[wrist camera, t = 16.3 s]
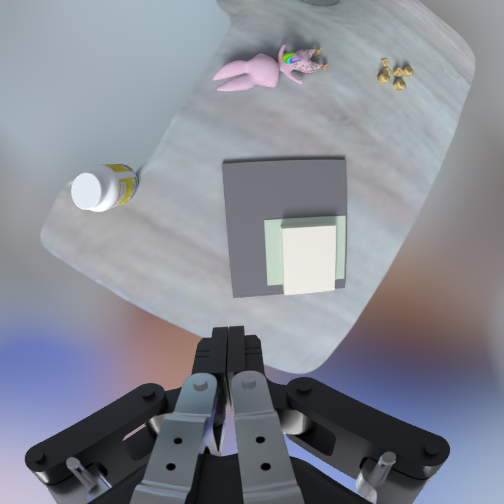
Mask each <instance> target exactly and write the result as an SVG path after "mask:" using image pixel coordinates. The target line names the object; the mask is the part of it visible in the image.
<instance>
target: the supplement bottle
mask: <svg viewBox="0 0 504 504" xmlns="http://www.w3.org/2000/svg"><path fill="white" fill-rule="evenodd" d="M137 187H138V180H137V176H136V174H135V172H134V171H133V170H132V169H131V168H130V167H128V166H126V165H121V164H115V165H96V166H93V167H91V168H89V169H88V170H87V171H86V172H84V173H81V174H80V175H78V176H77V177H76V179H75V180H74V182H73V184H72V189H71V193H72V198H73V201H74V202H75V204H76V205H77V206H78V207H79V208H81V209H85V210H88V209H90V210H92V211H96V212H101V211H105V210H108V209H110V208H113V207H116V206H119V205H121V204H124V203H126V202H128V201H129V200H131V199H132V198H133V196H134V195H135V193H136V191H137Z"/></svg>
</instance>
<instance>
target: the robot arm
mask: <svg viewBox="0 0 504 504" xmlns="http://www.w3.org/2000/svg"><path fill="white" fill-rule="evenodd" d="M302 1H304V2H306V3H310V4H313V5H318V6H329V5H334V4H336V3H338V2H340V1H341V0H302ZM231 404H232V408H233V411H234V415H235V416H234V421H235V431H236V440H237V449H238V453H237V454H232V455H228V456H221V454H222V447H223V439H224V432H225V415H226V413H225V412H226V411H231ZM142 424H145V427H144V428H142V429H140V430H139V431H137V432H136V433H135V434H133V435H132V436H130V437H129V438H127V439H126V440H124V441H123V439H124V437H125V436H126V435H127V434H129V433H130V432H132V431H133V430H135V429H136V428H138V427H139V426H141V425H142ZM283 433H286V436H287V437H288V438H289V439H290V440H292V441H293V442H295V443H296V444H298V445H299V446H301V447H302V448H304V449H305V450H307V451H308V452H310V453H311V454H313V455H315V456H316V457H318V458H319V459H321V460H322V461H324V462H326V463H328V464H329V465H331V466H333V467H334V468H336V469H338V470H339V471H341V472H343V473H344V474H346V475H348V476H350V477H352V478H353V479H355V480H356V482H355V487H356V490H357V492H358V493H359V494H360V495H362V496H363V497H364V498H363V497H361V496H360V495H358V494H356V493H354V492H353V491H351V490H349V489H348V488H346V487H344V486H343V485H341V484H340V483H338V482H337V481H335V480H333V479H332V478H330V477H329V476H327V475H326V474H324V473H323V472H321V471H320V470H318V469H317V468H315V467H314V466H313V465H311V464H309V463H308V462H306V461H304V460H301V459H298V458H295V457H291V456H289V454H288V450H287V447H286V443H285V439H284V436H283ZM449 453H450V447H449V444H448V442H447V441H446V440H445V439H444V438H443V437H441V436H439V435H436V434H433V433H431V432H428V431H426V430H423V429H421V428H418V427H416V426H413V425H411V424H408V423H406V422H404V421H401V420H399V419H397V418H394V417H392V416H390V415H388V414H385V413H383V412H381V411H379V410H376V409H374V408H372V407H370V406H368V405H366V404H363V403H361V402H359V401H357V400H355V399H353V398H351V397H349V396H347V395H345V394H343V393H341V392H339V391H337V390H335V389H333V388H331V387H329V386H327V385H325V384H323V383H321V382H319V381H317V380H315V379H313V378H309V377H300V378H296V379H293V380H292V381H290V382H289V383H288V384H287V385H280V384H276V383H273V382H271V381H270V380H268V379H267V378H266V376H265V373H264V365H263V357H262V349H261V341H260V339H259V338H258V337H257V336H256V335H246V336H245V332H244V326H231V327H229V329H228V327H215V328H213V331H212V338H203V339H202V340H201V341H200V342H199V343H198V345H197V350H196V355H195V360H194V364H193V369H192V374H191V376H189V377H188V378H186V380H185V381H184V383H183V386H182V387H180V388H177V389H173V390H169V391H164V389H163V387H162V386H160V385H158V384H154V383H148V384H143V385H141V386H139V387H137V388H136V389H134V390H132V391H131V392H129V393H127V394H126V395H124V396H123V397H121V398H119V399H117V400H116V401H114V402H112V403H111V404H109V405H107V406H106V407H104V408H102V409H100V410H99V411H97V412H95V413H93V414H92V415H90V416H88V417H87V418H85V419H83V420H81V421H79V422H78V423H76V424H74V425H72V426H71V427H69V428H67V429H65V430H63V431H61V432H59V433H58V434H56V435H54V436H52V437H50V438H48V439H46V440H44V441H43V442H40V443H39V444H37V445H35V446H33V447H31V448H30V449H29V450H28V451H27V453H26V455H25V463H26V465H27V467H28V468H29V469H30V470H31V471H32V472H33V473H34V474H35V475H36V476H37V477H38V479H39V480H40V481H41V482H42V483H43V484H44V485H45V486H46V487H47V488H48V490H49V491H50V493H51V495H52V496H53V498H54V500H55V501H56V503H57V504H412V503H413V502H414V500H415V499H416V497H417V496H418V494H419V493H420V491H421V490H422V489H423V488H424V487H425V486H426V484H427V483H428V482H429V481H430V480H431V479H432V477H433V476H434V475H435V474H436V472H437V471H438V470H439V469H440V467H441V466H442V465H443V463H444V462H445V461H446V459H447V458H448V456H449Z"/></svg>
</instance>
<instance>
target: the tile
mask: <svg viewBox="0 0 504 504" xmlns="http://www.w3.org/2000/svg"><path fill="white" fill-rule="evenodd" d="M280 229H281V254H282V284H283V293H284V295H294V294H304V293H314V292H324V291H333V290H334V289H335V261H336V225H334V224H333V223H326V224H309V225H293V226H280Z"/></svg>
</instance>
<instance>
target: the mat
mask: <svg viewBox="0 0 504 504" xmlns="http://www.w3.org/2000/svg"><path fill="white" fill-rule="evenodd" d="M222 169H223V183H224V196H225V209H226V221H227V233H228V245H229V256H230V267H231V278H232V289H233V298H238V297H251V296H264V295H276V294H284V293H283V284H282V254H281V229H280V226H293V225H309V224H326V223H333V224H334V225H336V261H335V289H338V288H345V270H346V240H347V191H346V161H345V160H282V161H260V162H243V163H229V164H222Z"/></svg>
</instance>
